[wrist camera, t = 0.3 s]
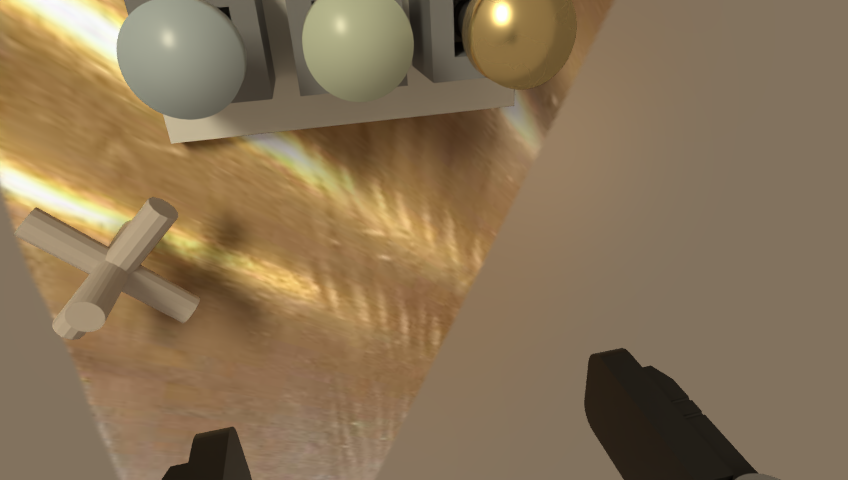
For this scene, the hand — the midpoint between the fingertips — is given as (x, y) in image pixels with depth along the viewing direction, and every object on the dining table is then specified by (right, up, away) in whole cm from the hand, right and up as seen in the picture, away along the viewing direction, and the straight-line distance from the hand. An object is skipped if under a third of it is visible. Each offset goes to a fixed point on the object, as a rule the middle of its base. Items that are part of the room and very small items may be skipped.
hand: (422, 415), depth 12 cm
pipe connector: (-19, +5, +24) cm, 31 cm away
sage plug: (-4, +16, +17) cm, 24 cm away
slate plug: (-11, +15, +16) cm, 25 cm away
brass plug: (+3, +16, +18) cm, 24 cm away
